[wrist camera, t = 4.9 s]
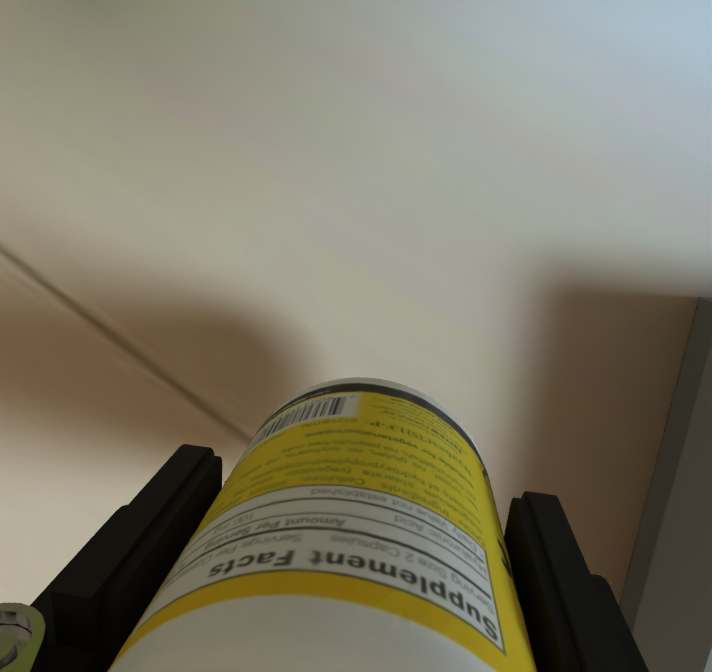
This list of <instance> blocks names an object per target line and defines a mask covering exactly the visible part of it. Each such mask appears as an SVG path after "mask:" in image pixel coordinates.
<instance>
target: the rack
mask: <svg viewBox="0 0 712 672" xmlns="http://www.w3.org/2000/svg"><path fill="white" fill-rule="evenodd" d="M619 607H620V610H621V612H622V614H623V616H624V618H625V620H626V623H627V625H628V627H629V629H630V631H631V634H632V636H633V638H634V640H635V642H636V644H637V647H638V649H639V651H640V653H641V655H642V657H643V660H644V662H645V664H646V666H647V668H648V670H649V672H712V298H703V297H700V298H699V302H698V306H697V310H696V313H695V317H694V321H693V325H692V329H691V333H690V336H689V340H688V344H687V348H686V352H685V356H684V360H683V363H682V367H681V371H680V375H679V379H678V383H677V386H676V390H675V394H674V398H673V402H672V406H671V409H670V413H669V417H668V421H667V425H666V429H665V432H664V436H663V440H662V444H661V448H660V452H659V456H658V459H657V463H656V467H655V471H654V475H653V479H652V482H651V486H650V490H649V494H648V498H647V502H646V505H645V509H644V513H643V517H642V521H641V525H640V528H639V532H638V536H637V540H636V544H635V548H634V552H633V555H632V559H631V563H630V567H629V571H628V575H627V578H626V582H625V586H624V590H623V594H622V598H621V601H620V605H619Z"/></svg>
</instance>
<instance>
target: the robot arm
mask: <svg viewBox="0 0 712 672" xmlns="http://www.w3.org/2000/svg"><path fill="white" fill-rule="evenodd" d="M221 489H222V459H221V457H220V456H214V452H213V449H212V448H209V447H201V446H194V445H187V444H183V445H182V446H180V447H179V448H178V450H177V451H176V452H175V453H174V454H173V455H172V456H171V457H170V459H169V460H168V461H167V462H166V463H165V464H164V465H163V466H162V468H161V469H160V470H159V471H158V472H157V473H156V474H155V475H154V477H153V478H152V479H151V480H150V481H149V482H148V483H147V484H146V485H145V487H144V488H143V489H142V490H141V491H140V492H139V493H138V494H137V496H136V497H135V498H134V499H133V500H132V501H131V502H130V503H129V505H125V506H122V507H120V508H119V509H118V510H117V511H116V512H115V513H114V514H113V515H112V516H111V517H110V518H109V519H108V521H107V522H106V523H105V524H104V525H103V526H102V527H101V528H100V529H99V530H98V531H97V533H96V534H95V535H94V536H93V537H92V538H91V539H90V540H89V541H88V542H87V544H86V545H85V546H84V547H83V548H82V549H81V550H80V551H79V552H78V553H77V555H76V556H75V557H74V558H73V559H72V560H71V561H70V562H69V563H68V564H67V566H66V567H65V568H64V569H63V570H62V571H61V572H60V573H59V574H58V575H57V576H56V578H55V579H54V580H53V581H52V582H51V583H50V584H49V585H48V586H47V587H46V589H45V590H44V591H43V592H42V593H41V594H40V595H39V596H38V597H37V598H36V600H35V601H34V602H33V603H32V604H31V605H30V606H28V605H25V604H22V603H0V672H107V671H108V670H109V668H110V667H111V665H112V664H113V662H114V660H115V659H116V657H117V655H118V653H119V651H120V650H121V648H122V647H123V645H124V644H125V642H126V641H127V639H128V637H129V636H130V634H131V633H132V631H133V630H134V628H135V627H136V625H137V623H138V622H139V620H140V619H141V617H142V615H143V614H144V612H145V611H146V609H147V607H148V606H149V604H150V603H151V601H152V599H153V598H154V596H155V595H156V593H157V591H158V590H159V588H160V587H161V585H162V584H163V582H164V580H165V579H166V577H167V576H168V574H169V572H170V571H171V569H172V568H173V566H174V564H175V563H176V561H177V560H178V558H179V556H180V555H181V553H182V551H183V550H184V548H185V547H186V545H187V544H188V542H189V540H190V538H191V537H192V536H193V534H194V533H195V532H196V530H197V528H198V527H199V525H200V523H201V522H202V520H203V518H204V517H205V515H206V513H207V511H208V510H209V509H210V507H211V505H212V504H213V502H214V500H215V499H216V497H217V496H218V494H219V492H220V491H221ZM504 540H505V544H506V548H507V552H508V555H509V559H510V564H511V568H512V572H513V576H514V580H515V583H516V587H517V592H518V596H519V600H520V604H521V608H522V612H523V616H524V620H525V624H526V628H527V632H528V636H529V640H530V644H531V648H532V652H533V656H534V660H535V664H536V668H537V672H649V670H648V668H647V666H646V664H645V662H644V660H643V657H642V655H641V653H640V651H639V649H638V647H637V644H636V642H635V640H634V638H633V636H632V634H631V631H630V629H629V627H628V625H627V623H626V620H625V618H624V616H623V614H622V612H621V610H620V607H619V605H618V603H617V601H616V599H615V597H614V594H613V592H612V590H611V588H610V586H609V584H608V582H607V581H606V579H605V578H603V577H602V576H600V575H593V574H590V572H589V569H588V567H587V565H586V562H585V560H584V558H583V555H582V553H581V551H580V548H579V546H578V544H577V541H576V539H575V537H574V534H573V532H572V530H571V527H570V525H569V523H568V520H567V518H566V516H565V513H564V511H563V509H562V506H561V504H560V502H559V499H558V498H557V496H555V495H549V494H542V493H535V492H528V491H525V492H524V493H523V496H522V499H521V498H513V499H512V501H511V505H510V510H509V515H508V520H507V525H506V530H505V535H504Z"/></svg>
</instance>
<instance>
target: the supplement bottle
mask: <svg viewBox="0 0 712 672" xmlns="http://www.w3.org/2000/svg"><path fill="white" fill-rule="evenodd" d="M107 672H537V668H536V664H535V660H534V656H533V652H532V648H531V644H530V640H529V636H528V632H527V628H526V624H525V620H524V616H523V612H522V608H521V604H520V600H519V596H518V592H517V587H516V583H515V580H514V576H513V572H512V568H511V564H510V559H509V555H508V552H507V548H506V544H505V540H504V536H503V532H502V528H501V524H500V520H499V516H498V512H497V509H496V504H495V500H494V496H493V492H492V488H491V484H490V480H489V477H488V474H487V471H486V468H485V466H484V463H483V459H482V457H481V455H480V452H479V450H478V448H477V446H476V444H475V442H474V441H473V439H472V437H471V436H470V434H469V433H468V431H467V430H466V429H465V428H464V426H463V425H462V424H461V423H460V422H459V420H458V419H457V418H456V417H454V416H453V415H452V414H451V413H450V412H449V411H448V410H447V409H446V408H445V407H443V406H442V405H440V404H439V403H438V402H436V401H435V400H433V399H432V398H430V397H428V396H427V395H425V394H423V393H421V392H419V391H417V390H415V389H412V388H410V387H407V386H405V385H402V384H399V383H395V382H391V381H387V380H382V379H376V378H360V377H357V378H345V379H337V380H332V381H328V382H324V383H320V384H318V385H315V386H313V387H310V388H308V389H306V390H304V391H302V392H300V393H298V394H296V395H295V396H293V397H292V398H290V399H289V400H287V401H286V402H284V403H283V404H282V405H281V406H279V407H278V408H277V409H276V410H275V411H274V412H273V413H272V414H271V415H270V416H269V417H268V419H267V420H266V421H265V422H264V424H263V425H262V426H261V428H260V429H259V431H258V432H257V433H256V435H255V436H254V438H253V439H252V441H251V442H250V444H249V445H248V447H247V448H246V450H245V451H244V453H243V455H242V457H241V458H240V460H239V461H238V463H237V465H236V466H235V468H234V469H233V471H232V473H231V475H230V476H229V477H228V479H227V480H226V481H225V484H224V486H223V488H222V489H221V491H220V492H219V494H218V496H217V497H216V499H215V500H214V502H213V504H212V505H211V507H210V509H209V510H208V511H207V513H206V515H205V517H204V518H203V520H202V522H201V523H200V525H199V527H198V528H197V530H196V532H195V533H194V534H193V536H192V537H191V538H190V540H189V542H188V544H187V545H186V547H185V548H184V550H183V551H182V553H181V555H180V556H179V558H178V560H177V561H176V563H175V564H174V566H173V568H172V569H171V571H170V572H169V574H168V576H167V577H166V579H165V580H164V582H163V584H162V585H161V587H160V588H159V590H158V591H157V593H156V595H155V596H154V598H153V599H152V601H151V603H150V604H149V606H148V607H147V609H146V611H145V612H144V614H143V615H142V617H141V619H140V620H139V622H138V623H137V625H136V627H135V628H134V630H133V631H132V633H131V634H130V636H129V637H128V639H127V641H126V642H125V644H124V645H123V647H122V648H121V650H120V651H119V653H118V655H117V657H116V659H115V660H114V662H113V664H112V665H111V667H110V668H109V670H108V671H107Z"/></svg>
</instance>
